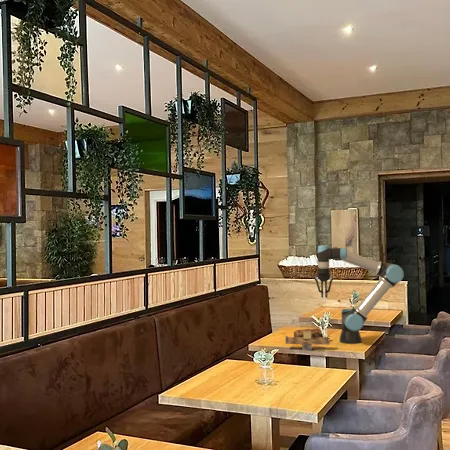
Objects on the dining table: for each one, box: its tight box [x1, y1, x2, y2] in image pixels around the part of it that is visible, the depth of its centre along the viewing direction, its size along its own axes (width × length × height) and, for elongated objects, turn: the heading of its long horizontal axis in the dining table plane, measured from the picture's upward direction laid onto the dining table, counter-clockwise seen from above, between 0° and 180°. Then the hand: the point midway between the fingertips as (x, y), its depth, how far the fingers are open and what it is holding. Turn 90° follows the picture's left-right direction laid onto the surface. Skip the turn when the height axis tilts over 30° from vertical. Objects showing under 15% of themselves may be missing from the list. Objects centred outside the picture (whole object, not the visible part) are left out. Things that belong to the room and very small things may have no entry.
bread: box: [293, 328, 324, 338], centre depth 385 cm, size 19×11×10 cm, turn 96°
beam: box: [285, 335, 330, 352], centre depth 366 cm, size 28×8×8 cm, turn 81°
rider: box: [303, 332, 311, 339], centre depth 366 cm, size 5×6×5 cm
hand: (324, 302), depth 376 cm, fingers closed
